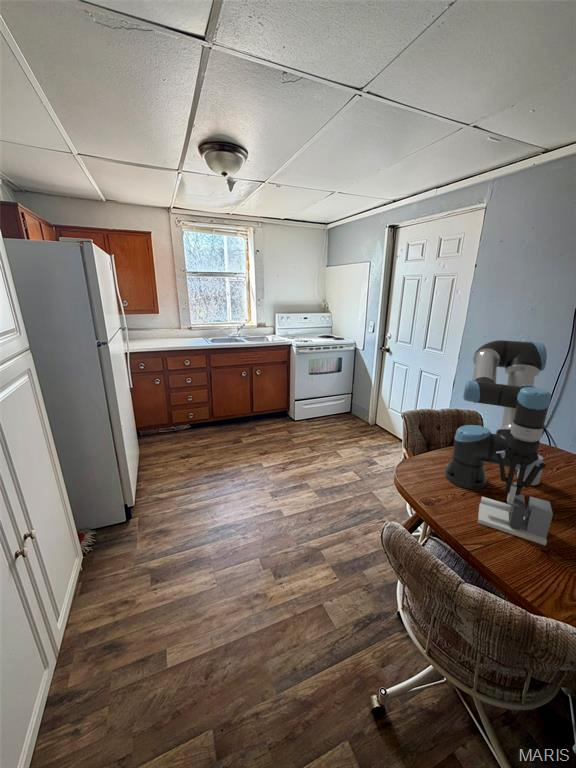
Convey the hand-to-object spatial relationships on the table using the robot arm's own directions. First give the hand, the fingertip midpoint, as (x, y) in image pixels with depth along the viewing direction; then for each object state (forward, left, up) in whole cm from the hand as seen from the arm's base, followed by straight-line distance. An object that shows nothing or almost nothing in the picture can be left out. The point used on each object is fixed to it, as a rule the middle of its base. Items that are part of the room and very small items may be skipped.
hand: (510, 501), depth 100 cm
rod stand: (+1, 0, -9) cm, 9 cm away
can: (+8, +34, -9) cm, 36 cm away
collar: (+2, 0, -7) cm, 7 cm away
